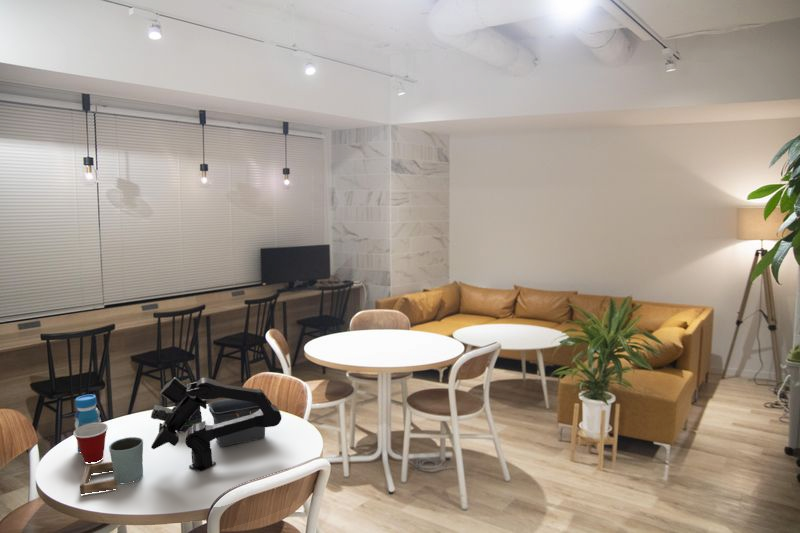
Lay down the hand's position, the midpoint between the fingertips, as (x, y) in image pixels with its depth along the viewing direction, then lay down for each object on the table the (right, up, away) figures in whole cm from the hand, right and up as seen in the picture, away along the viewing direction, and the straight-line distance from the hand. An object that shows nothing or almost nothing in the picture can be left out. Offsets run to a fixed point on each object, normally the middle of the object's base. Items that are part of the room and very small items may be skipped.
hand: (152, 448), depth 197 cm
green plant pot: (-7, -10, -1) cm, 12 cm away
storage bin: (+22, -5, +27) cm, 36 cm away
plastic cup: (-25, -8, +12) cm, 29 cm away
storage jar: (-2, -4, +40) cm, 41 cm away
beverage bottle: (-31, -7, +21) cm, 38 cm away
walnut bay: (-15, -10, -4) cm, 18 cm away
